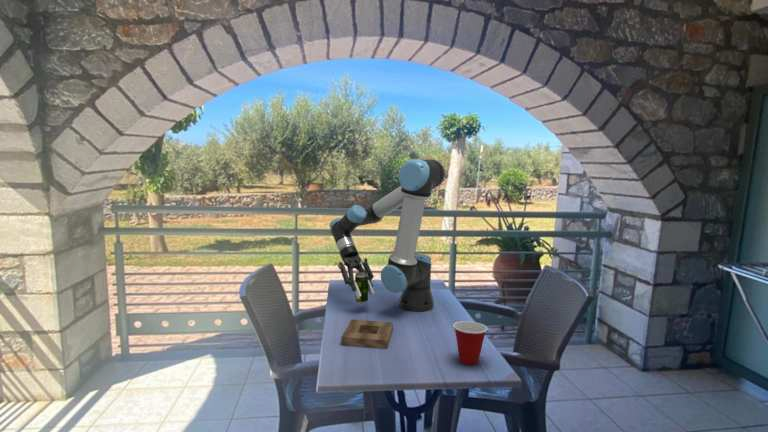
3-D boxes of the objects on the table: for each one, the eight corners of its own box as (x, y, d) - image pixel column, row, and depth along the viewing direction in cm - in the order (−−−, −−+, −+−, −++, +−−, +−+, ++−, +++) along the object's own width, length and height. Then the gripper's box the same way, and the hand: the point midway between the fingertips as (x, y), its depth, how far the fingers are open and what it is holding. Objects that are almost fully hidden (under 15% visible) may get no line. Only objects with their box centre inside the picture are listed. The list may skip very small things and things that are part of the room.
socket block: (393, 329, 158) (393, 322, 157) (387, 348, 142) (387, 340, 142) (351, 326, 160) (351, 319, 160) (341, 345, 144) (341, 336, 144)
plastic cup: (487, 356, 138) (489, 321, 136) (484, 371, 127) (486, 334, 126) (454, 350, 141) (456, 317, 139) (448, 365, 131) (450, 329, 129)
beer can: (361, 298, 179) (361, 271, 177) (370, 301, 175) (370, 273, 174) (352, 301, 175) (352, 273, 173) (362, 304, 171) (361, 275, 170)
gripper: (362, 252, 191) (381, 296, 179) (325, 256, 181) (343, 304, 169) (368, 242, 185) (388, 287, 174) (330, 247, 176) (348, 295, 164)
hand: (366, 295), depth 172 cm, fingers closed on beer can, 5 cm apart
